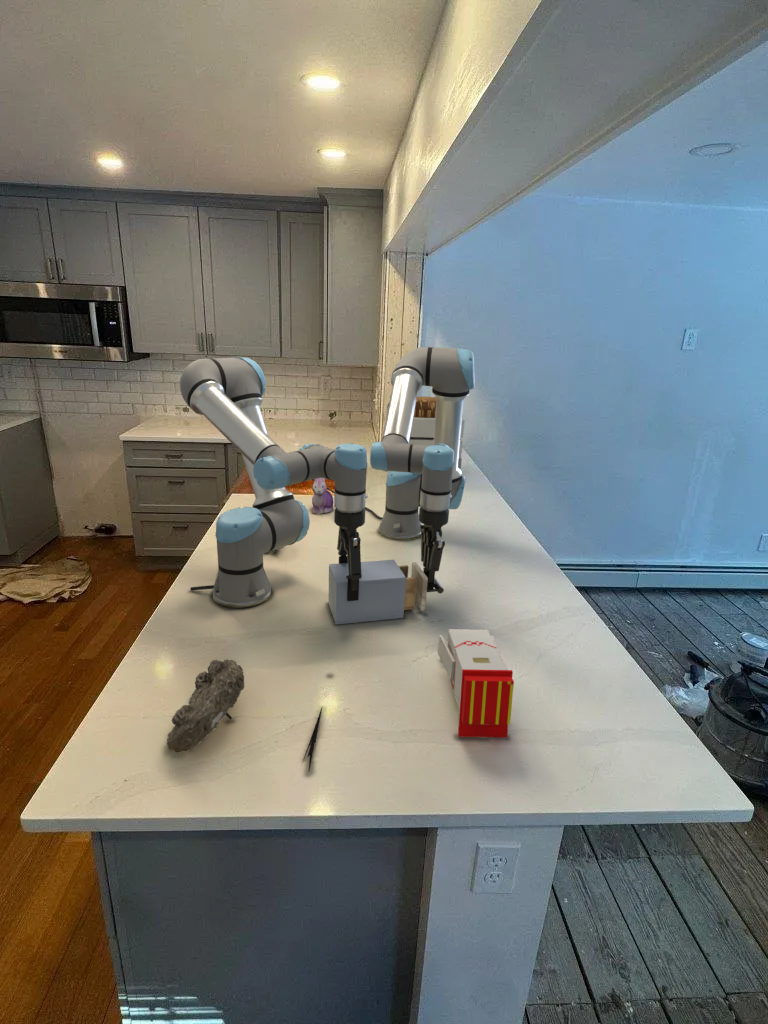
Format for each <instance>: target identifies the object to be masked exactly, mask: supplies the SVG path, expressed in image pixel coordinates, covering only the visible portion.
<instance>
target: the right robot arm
mask: <svg viewBox="0 0 768 1024" xmlns="http://www.w3.org/2000/svg"><path fill="white" fill-rule="evenodd" d="M474 356H475V355H474V353H473V351H472V350H470V349H465V348H460V347H434V346H433V347H431V346H420V347H416V348H414V349H412V350H410V351H409V352H407V353H405V355H403V356H402V357H401V358H400V359H399V360H398V362H397V363H396V365H395V366H394V368H393V370H392V373H391V376H390V377H391V378H390V384H391V387H392V389H391V394H390V398H389V401H390V402H388V403H389V407H388V412H387V411H386V412H387V417H386V416H385V421H384V426H383V432H382V435H381V441H373V442H372V444H371V447H370V452H369V463H370V467H371V469H373V470H376V471H383V472H388V473H387V475H386V482H385V504H384V505H385V507H384V508H385V509H384V513H383V515H382V517H381V516H379V515H378V514H376V513H375V511H373V510H372V509H370V508H368V507H366V506H365V508H364V509H365V511H366V510H367V511H368V512H370V513H371V514H372V515H373V516H374V517H375V518H377V519H379V520H381V522H379V526H378V533H379V534H380V535H381V536H382V537H385V538H387V539H389V540H395V541H410V540H415V539H418V538H420V561H421V563H422V566H423V568H422V571H423V572H424V574H425V575H426V576H427V578H428V582H427V589H435V588H434V578H436V576H435V575H436V572H439V571H440V567H441V561H442V558H443V552H444V548H445V546H446V540H442V537H443V530H442V528H443V527H444V526H446V525H447V524H448V523H449V517H450V510H457V509H459V508H460V506H461V502H462V500H463V496H464V490H465V485H466V477H465V476H463V474H462V469H461V470H460V469H459V468H458V458H459V447H460V439H461V438H460V436H461V425H462V419H463V414H464V413H463V412H464V402H465V399H466V398H467V397H468V396H470V390H473V389H475V358H474ZM422 387H432V388H431V393H432V394H433V396H434V397H436V413H435V428H434V443H433V446H426V445H413V444H409V440H410V434H411V428H412V423H413V417H414V411H415V405H416V399H417V396H418V392H419V391H420V390H421V389H422ZM312 481H313V482H315V479H313V480H312ZM327 491H329V492H330V493H333V494H334V491H335V490H333V489H331V488H329V487H327Z"/></svg>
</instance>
